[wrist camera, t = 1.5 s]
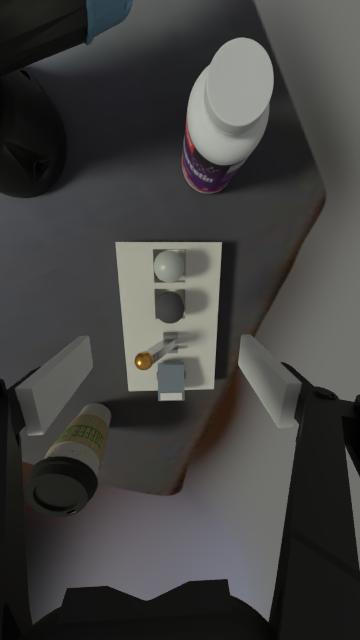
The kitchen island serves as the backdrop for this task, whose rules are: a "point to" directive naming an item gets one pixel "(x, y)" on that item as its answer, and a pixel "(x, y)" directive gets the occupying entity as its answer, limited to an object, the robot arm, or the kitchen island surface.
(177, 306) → the button black
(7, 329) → the kitchen island surface
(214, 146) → the pill bottle
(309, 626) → the robot arm
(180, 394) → the slate blue block
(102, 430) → the coffee cup
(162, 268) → the button grey
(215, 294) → the panel
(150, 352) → the lever
